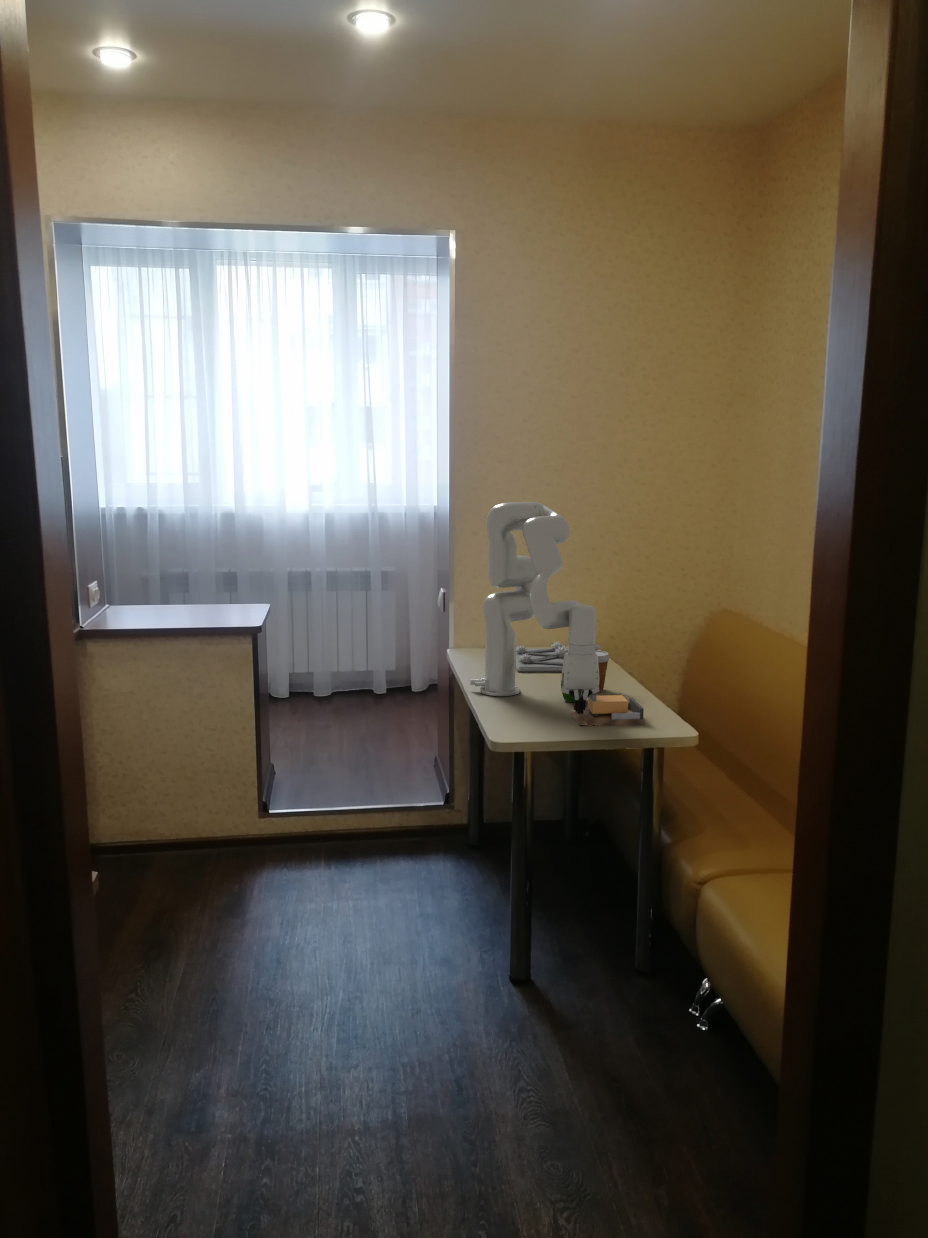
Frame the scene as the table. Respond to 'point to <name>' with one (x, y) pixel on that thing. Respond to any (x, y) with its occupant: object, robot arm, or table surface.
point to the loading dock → (613, 716)
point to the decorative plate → (540, 659)
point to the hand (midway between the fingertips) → (579, 712)
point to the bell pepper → (568, 696)
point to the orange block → (607, 704)
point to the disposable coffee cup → (602, 667)
